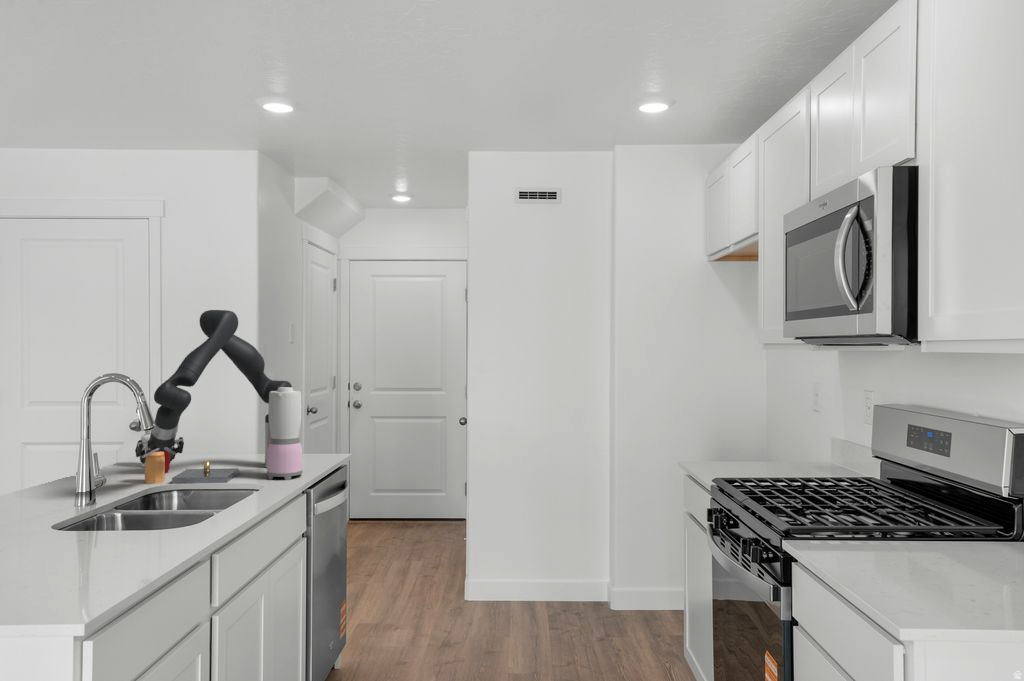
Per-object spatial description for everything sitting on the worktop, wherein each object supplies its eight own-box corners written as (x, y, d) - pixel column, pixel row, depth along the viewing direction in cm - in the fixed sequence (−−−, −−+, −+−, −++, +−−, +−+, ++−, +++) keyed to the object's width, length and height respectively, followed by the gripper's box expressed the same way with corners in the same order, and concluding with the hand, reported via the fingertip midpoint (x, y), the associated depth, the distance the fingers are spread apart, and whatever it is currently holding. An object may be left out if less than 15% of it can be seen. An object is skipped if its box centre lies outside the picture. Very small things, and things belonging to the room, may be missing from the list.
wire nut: (149, 480, 249) (149, 451, 249) (166, 479, 249) (166, 451, 249) (142, 483, 243) (142, 454, 243) (160, 483, 244) (160, 454, 244)
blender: (294, 480, 249) (294, 389, 249) (260, 479, 250) (261, 388, 250) (311, 472, 265) (311, 386, 265) (279, 471, 266) (280, 385, 266)
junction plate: (187, 474, 259) (187, 458, 259) (238, 473, 261) (239, 457, 261) (172, 483, 243) (172, 466, 243) (227, 482, 245) (227, 465, 245)
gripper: (185, 420, 241) (177, 449, 250) (138, 422, 232) (132, 453, 242) (189, 437, 237) (180, 467, 246) (142, 441, 228) (134, 471, 237)
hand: (156, 460), depth 244 cm, fingers open, 8 cm apart
